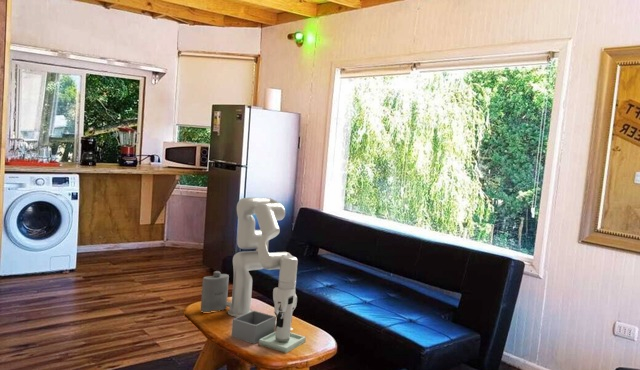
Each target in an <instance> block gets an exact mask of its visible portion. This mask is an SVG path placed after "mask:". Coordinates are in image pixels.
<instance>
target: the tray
mask: <svg viewBox="0 0 640 370" xmlns="http://www.w3.org/2000/svg"><path fill="white" fill-rule="evenodd" d="M275 337H276V330H275V332H273V333H271V334H269V335H267V336H265V337H263V338H261V339H259V342H258V345H259V346H262V347H266V348H268V349H272V350H275V351H279V352H281V353H284V354H287V353H289V352H291V351H292V350H294V349H296V348H297V347H299V346H301V345H303V344H304V343H306V339H307V337H306V336H304V335H301V334H297V333H295V332H291V331H290V339H289V340H288V341H286V342H281V341H278V340H276V339H275Z"/></svg>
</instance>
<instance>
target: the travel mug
mask: <svg viewBox="0 0 640 370" xmlns="http://www.w3.org/2000/svg"><path fill="white" fill-rule="evenodd" d="M292 308H293V297H292V298H290V299H288V304H287V309H286V311H285V312H284V315H283V327H282V328H281V327H278V326H276V325H275V331H276V337H275V339H276V340H278V341H281V342H286V341H288V340H289V339H290V332H291V330H290V329H291V328H292V322H291V319H293V314H292ZM280 311H282V309H280ZM281 313H282V312H280V314H281Z"/></svg>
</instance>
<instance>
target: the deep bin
mask: <svg viewBox="0 0 640 370" xmlns="http://www.w3.org/2000/svg"><path fill="white" fill-rule="evenodd" d="M276 320H277V317H276V315H271V314H268V313H264V312H261V311H257V310H253V311H251V312H249V313H246V314H244V315H241V316H239V317H235V318H232V325H231V337H232V338H234V339H238V340H241V341H244V342H247V343H251V344H254V345H255V344H257V343H259V339H261V338H263V337H265V336H267V335H269V334H271V333H273V332H275V331H276V325H275V323H276Z"/></svg>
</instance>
